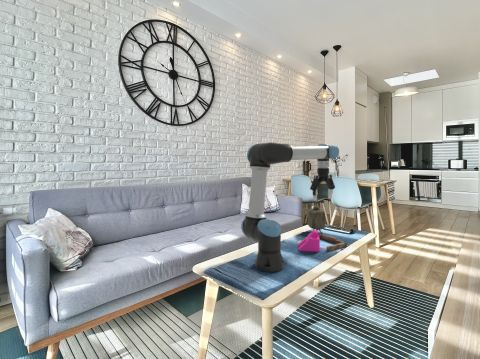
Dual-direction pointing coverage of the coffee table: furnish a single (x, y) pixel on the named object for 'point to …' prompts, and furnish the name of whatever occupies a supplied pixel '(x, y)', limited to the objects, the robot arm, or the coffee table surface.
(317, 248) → the bracket
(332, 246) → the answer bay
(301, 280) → the coffee table surface
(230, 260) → the coffee table surface
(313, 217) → the brown pump bottle
